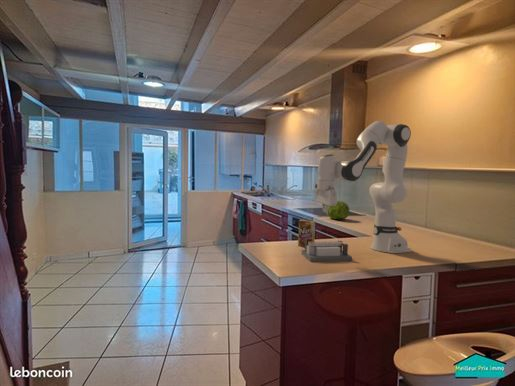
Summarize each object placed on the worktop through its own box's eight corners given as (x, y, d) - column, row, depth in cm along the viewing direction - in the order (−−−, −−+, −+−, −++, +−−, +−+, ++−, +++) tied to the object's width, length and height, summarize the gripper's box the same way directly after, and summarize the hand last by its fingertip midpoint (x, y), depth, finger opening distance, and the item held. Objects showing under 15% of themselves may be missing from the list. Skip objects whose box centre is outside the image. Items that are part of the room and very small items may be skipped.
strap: (340, 243, 169) (340, 240, 169) (343, 245, 165) (343, 242, 165) (307, 244, 166) (307, 240, 166) (310, 246, 162) (310, 242, 162)
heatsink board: (339, 253, 175) (340, 236, 174) (351, 260, 161) (352, 242, 160) (301, 253, 171) (302, 237, 170) (310, 261, 157) (311, 243, 156)
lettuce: (335, 217, 308) (331, 200, 308) (354, 217, 289) (350, 198, 288) (322, 222, 299) (319, 204, 298) (341, 222, 279) (337, 203, 278)
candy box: (297, 245, 189) (298, 220, 187) (300, 244, 192) (301, 219, 191) (311, 248, 184) (312, 222, 182) (314, 246, 187) (315, 221, 186)
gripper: (340, 187, 155) (339, 215, 156) (324, 184, 175) (323, 209, 176) (328, 187, 153) (327, 215, 155) (313, 184, 173) (312, 209, 175)
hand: (325, 212), depth 165 cm, fingers closed
